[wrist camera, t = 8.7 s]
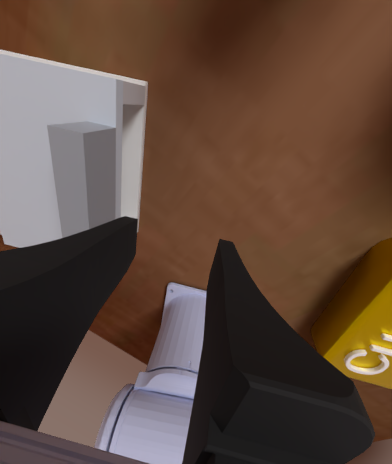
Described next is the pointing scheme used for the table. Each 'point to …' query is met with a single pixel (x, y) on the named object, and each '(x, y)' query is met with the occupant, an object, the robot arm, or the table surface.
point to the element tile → (361, 321)
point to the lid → (57, 151)
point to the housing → (131, 134)
